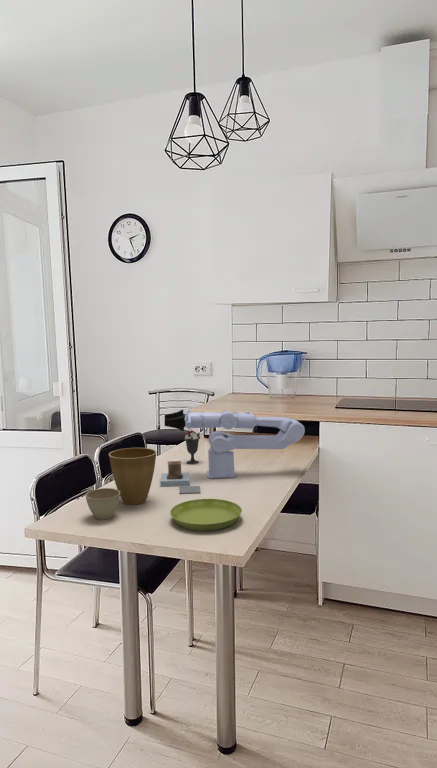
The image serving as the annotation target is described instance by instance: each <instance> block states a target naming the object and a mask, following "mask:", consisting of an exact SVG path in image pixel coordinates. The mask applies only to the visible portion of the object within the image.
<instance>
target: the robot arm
mask: <svg viewBox="0 0 437 768" xmlns="http://www.w3.org/2000/svg"><path fill="white" fill-rule="evenodd" d="M164 426H165V427H169V428H173V429H177V430H178V431H179V430H180V431H182V432H185V429H186V428H187V430H188V429H189V430H190V429H210V428H212V429H213V428H214V429H215V428H223V429H225V430H232V429H234V428H235V429H247V430H248V429H249V430H250V429H254V427H256V426H260V427H270V428H277V429H279V431H278V433H277V434H276V435H253V434H251V435H248V434H246V435H243V434H242V435H241V434H237V435H236V434H231V433H224V432H221V431H220V430H219V431H218V430H217V431H212V433H210V434H209V436H208V442H209V445H210V448H209V449H207V451H208V458H207V459H208V470H207V471H206V473H207V478H208V479H216V478H217V479H220V478H224V479H225V478H235V455H234V451H233V450H283V449H286V448H287V447H289V446H291V445H292V444H294V443H297V442H299V441H300V440H301V439H302V438H303V436H304V435H305V432H306V430H305V426H304V425H303V424H302V423H301V422H299V421H298V420H297V419H295V418H293V417H290V418H289V417H287V416H286V417H285V416H255V415H254V413H252V412H251V411H250V410H248V411H245V412H237V411H235V410H232V412H230V411H229V410H223V411H221V412H214V411H205V412H204V411H200V412H197V411H193V412H192V411H191V409H190V408H188V409H187V412H184V409H180V410H178V411H176V412H172V413H167V414H164Z"/></svg>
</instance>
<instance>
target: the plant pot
mask: <svg viewBox="0 0 437 768" xmlns="http://www.w3.org/2000/svg"><path fill="white" fill-rule="evenodd" d="M108 457H109V463H110V468H111V473H112V476H113V479H114V483H115V486H116V489H117V490H119V491H120V499H121V502H122V503H123V504H124V505H128V506H136V505H141V504H145V502H146V501H147V500H148V496H149V493H150V490H151V486H152V483H153V477H154V473H155V468H156V460H157V459H156V458H157V450H155V449H152V448H148V447H129V448H128V447H127V448H119V449H116V450H112V451H110V452H109V453H108Z"/></svg>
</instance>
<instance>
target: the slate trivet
mask: <svg viewBox="0 0 437 768" xmlns="http://www.w3.org/2000/svg"><path fill="white" fill-rule="evenodd" d="M178 487H179V490H178V491H179V495H189V494H190V495H191V494H192V495H193V494H201V492H202V491H201V486H200V485H189V486H178Z"/></svg>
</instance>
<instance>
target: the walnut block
mask: <svg viewBox="0 0 437 768" xmlns="http://www.w3.org/2000/svg"><path fill="white" fill-rule="evenodd" d="M167 462H168V464H167V466H168V469H167V473H168V477H169V479H181V473H182V461H181V460H174V461H173V460H172V461H170V460H169V461H167Z"/></svg>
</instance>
